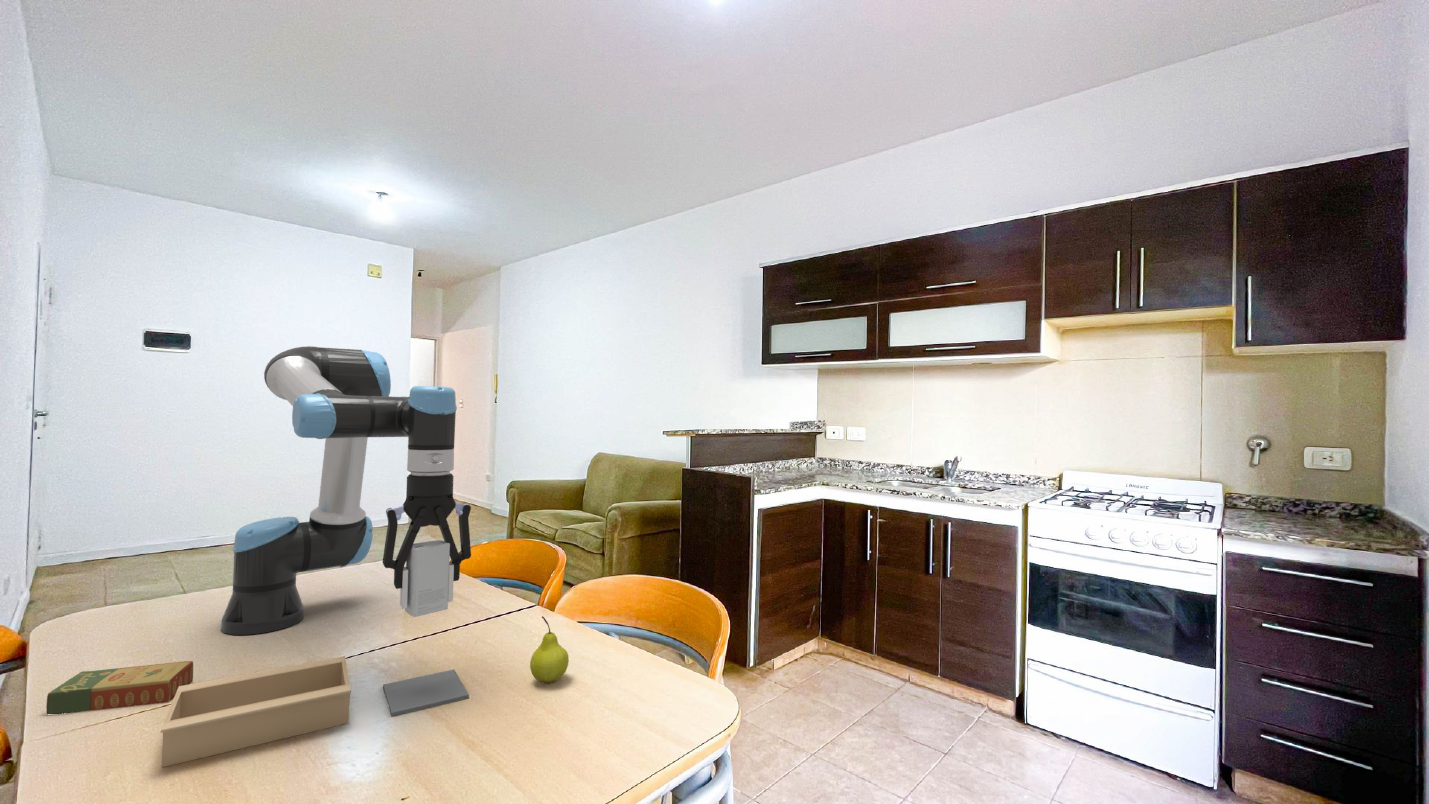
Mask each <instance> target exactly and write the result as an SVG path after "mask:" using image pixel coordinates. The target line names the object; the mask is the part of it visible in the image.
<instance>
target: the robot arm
mask: <svg viewBox="0 0 1429 804" xmlns="http://www.w3.org/2000/svg"><path fill="white" fill-rule="evenodd" d="M263 375H264V376H263V378H264V382H265V385H266V386H267V388H268V390H269V391H270V392H271V393H272V394H273V395H275V396H276V397H278V398H280V399H282V400H283V401H284V400H285V401H287V402H288V403H289V404H290V405H291V406H292V415H291V419H292V427H293V431H294V434H295V435H296V436H298V437H299V438H302V439H303V438H306V439H318V440H323V439H325V442H324V449H323V460H322V468H321V469H322V470H321V478H320V487H319V497H318V506H317V507H316V508H315V507H314V509H312V511H310V513H309V520H308V521H303V522H300V520H299V519H298V518H297V517H295V516H284V517H279V516H278V517H273V518H268V519H263V520H258V521H254V522H251V523H249V524H246V525H243V526H242V527H240V528H239V529H238V530H236V532H235V535H234V536H235V537H234V543H233V547H232V552H233V571H232V577H233V578H232V594H231V597H230V599H229V601H228V603H227V606H226V609H225V610H224V614H223V615H222V618H221V623H220V624H221V626H220V631H221V632H222V633H224V634H228V635H236V636H246V635H256V634H257V635H258V634H264V633H270V632H275V631H278V630H282V629H286V628H289V627H292V626H295V625H296V624H298V623H300V622H301V621H303V619H304V618H305V607H304V604H303V601H302V598H301V595H300V593H299V590H298V587H297V575H298V573H306V572H311V571H318V570H325V569H333V568H339V567H340V568H343V567H347V566H350V565H355V564H359V563H361V562H362V561H363V560H365V558H367V556H368V554H369V553H370V549H371V546H372V543H373V535H374V534H373V531H374V530H373V523H372V519H371V518H370V517H368V516H367V512H366V511H365V510H364V509H363V508H362V507H361V499H362V498H361V497H362V488H363V482H364V481H363V479H364V474H365V473H364V472H365V463H366V454H367V448H368V447H367V446H368V440H369V438H408V439H407V441H408V442H407V462H406V463H407V464H406V465H407V466H406V470H407V472H409V473H410V474H408V475H407V476H406V492H405V493H406V494H405V495H406V496H405V501H404V503H403V504H402V505H401V506H397V507H394V508H392V507H388V508H387V509H386V510H385V514H386V517H387V521H388V522H387V526H386V527H387V528H386V536H385V541H384V549H383V558H382V565H383V566H384V568H385V569H392V570H393V586H394V588H395V589H396V590H399V589H400V595H399V605H400V607H401V609H404V610H405V608H407V593H408V569H407V568H406V560H407V558H408V555H409V553H410V550H411V548H412V546H413V544H415V541H416V539H417V538H416V537H417V535H418V533H419V531H420V530H421V528H424V527H429V526H435V527H436V526H438V528H439V530H440V533H441V536H442V538H443V541H445V542H446V543H450V552H449V554H450V555H449V559H450V561H449V588H448V603H449V602H453V601H454V582H457V581H459V579H460V578H461V576H460V575H461V574H460V573H461V570H460V569H461V563H462V562H463V561H465V560H468V559H471V558H472V549H471V537H470V535H471V534H470V522H469V517H470V514H471V510H472V507H471V505H470V504H468V503H466V502H463V503H461V502H460V503H459V502H456V500H455V498H454V474H453V473H452V472H453V471H454V469H455V467H454V466H455V463H454V462H455V440H456V438H455V436H456V414H457V413H456V411H457V402H456V391H455V389H454V388H452V387H448V386H435V385H434V386H433V385H430V386H429V385H425V386H424V385H415V386H412V387H411V388H410V390H409V396H390V394H391V385H392V384H391V382H392V381H391V372H390V368H389V365H388V363H387V360H386V358H385V357H384V355H382V354H381V353H378V352H376V351H369V350H363V349H353V348H352V349H351V348H337V347H335V348H334V347H318V346H311V345H310V346H299V347H297V346H296V347H294V348H289V349H287V350H285V351H282V352H280V353H278V354H276V355H275V356H274V357H272V358H271V359H270V360H269V362H268V363H267V364H266V366H265V369H264V371H263ZM454 510H455V513H456V515H457V516H458V528H459V530H458V531H459V541H460V542H459V543H460V551H458V549H457V546H456V543H455V540H454V538H453V537H454V536H453V534H452V532H451V529H450V526H449V522H448V520H447V518H448V517H449V516H450V515H451V514H452V512H453V511H454ZM403 513H405V514H406V515H407V516H408V518H409V519H410V523H409V525H408V529H407V531H406V533H405V535H404V536H405V537H404V539H403V541H402V543H401V546H400V549H399V550H398V553H397V555H396V558H395V559H394V554H395V553H394V552H395V545H396V538H397V534H398V533H397V532H398V526H399V525H398V521H400V520H401V519H402V515H403Z"/></svg>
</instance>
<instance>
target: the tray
mask: <svg viewBox="0 0 1429 804" xmlns="http://www.w3.org/2000/svg"><path fill="white" fill-rule="evenodd" d="M350 684H351V683H350V678H349V673H348V668H347V660H346V656H345V655H344V656H337V657H334V658H332V657H331V658H327V659H321V660H315V661H310V662H305V663H301V664H300V663H298V664H295V665H290V666H289V665H287V666H283V667H278V668H273V669H267V670H262V671H256V672H250V673H245V674H244V673H243V674H239V675H234V676H227V677H223V678H217V679H211V680H206V681H201V682H195V683H191V684H189V685H184V686H179V687H178V689H177V692H176V694H175V697H174V698H173V699H172V702H171V704H170V707H169V709H168V711H167V714H166V716H165V718H164V721H163V723H162V727H161V728H160V733H162V746H161V747H162V750H161V753H162V754H161V768H165V767H169V766H173V765H174V766H175V765H177V764H182V763H185V762H191V761H194V760H199V759H202V758H207V757H211V756H216V755H220V754H224V753H227V752H228V753H229V752H232V751H236V750H240V749H244V748H248V747H254V746H257V745H261V744H266V743H268V742H270V743H271V742H275V741H278V740H283V739H286V738H292V737H295V736H299V735H304V734H309V733H313V732H317V731H320V730H325V729H329V728H332V727H333V728H334V727H336V726H337V727H338V726H341V725H347V724H349V722H350V700H351V699H350V698H351V695H350V694H351V692H352V688H351V685H350Z"/></svg>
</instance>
